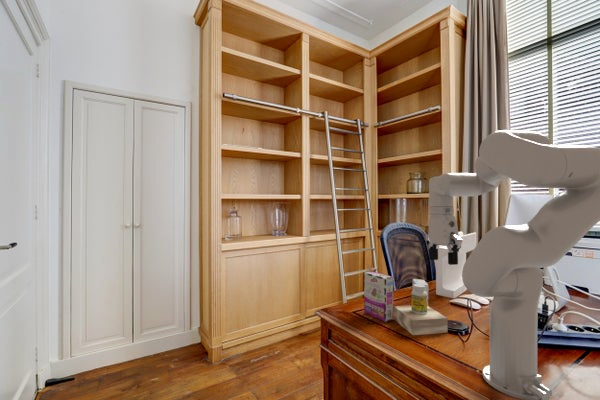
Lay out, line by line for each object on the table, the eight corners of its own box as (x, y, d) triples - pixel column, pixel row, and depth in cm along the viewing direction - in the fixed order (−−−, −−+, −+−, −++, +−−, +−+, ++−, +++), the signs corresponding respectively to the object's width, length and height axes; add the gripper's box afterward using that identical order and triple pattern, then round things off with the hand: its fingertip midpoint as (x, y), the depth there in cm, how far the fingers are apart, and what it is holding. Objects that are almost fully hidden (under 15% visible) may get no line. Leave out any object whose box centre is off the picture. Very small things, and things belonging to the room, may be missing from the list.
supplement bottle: (428, 310, 105) (428, 284, 105) (426, 315, 101) (426, 288, 101) (412, 308, 108) (412, 282, 108) (410, 312, 103) (410, 286, 103)
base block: (447, 332, 99) (447, 318, 99) (412, 335, 97) (412, 320, 97) (425, 317, 112) (425, 304, 112) (394, 319, 110) (394, 306, 110)
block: (460, 280, 163) (460, 231, 163) (476, 283, 157) (476, 232, 157) (436, 294, 139) (436, 236, 139) (453, 298, 133) (454, 238, 133)
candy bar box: (394, 319, 109) (394, 276, 109) (385, 322, 107) (385, 278, 107) (372, 310, 119) (372, 270, 119) (363, 312, 116) (363, 272, 116)
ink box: (428, 314, 115) (429, 284, 115) (415, 313, 116) (415, 283, 116) (424, 306, 123) (424, 279, 123) (411, 305, 124) (411, 278, 124)
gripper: (470, 212, 92) (472, 266, 91) (434, 212, 109) (436, 257, 108) (449, 212, 90) (451, 267, 89) (417, 212, 107) (418, 258, 106)
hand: (442, 262), depth 98 cm, fingers open, 9 cm apart
